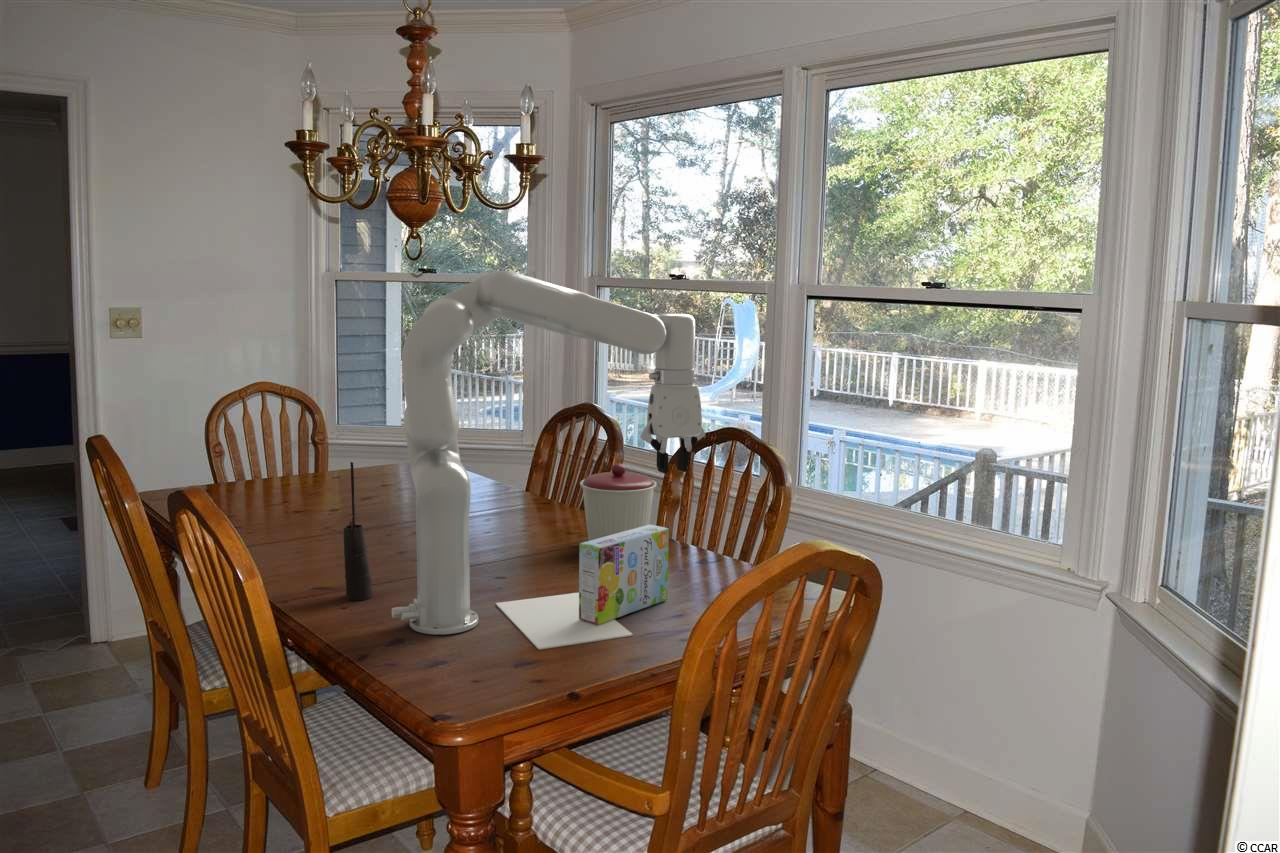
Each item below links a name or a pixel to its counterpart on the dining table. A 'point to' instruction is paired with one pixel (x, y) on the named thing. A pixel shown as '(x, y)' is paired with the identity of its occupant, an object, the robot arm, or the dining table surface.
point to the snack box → (623, 573)
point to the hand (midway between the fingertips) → (672, 470)
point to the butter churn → (356, 558)
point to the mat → (558, 621)
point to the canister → (616, 501)
